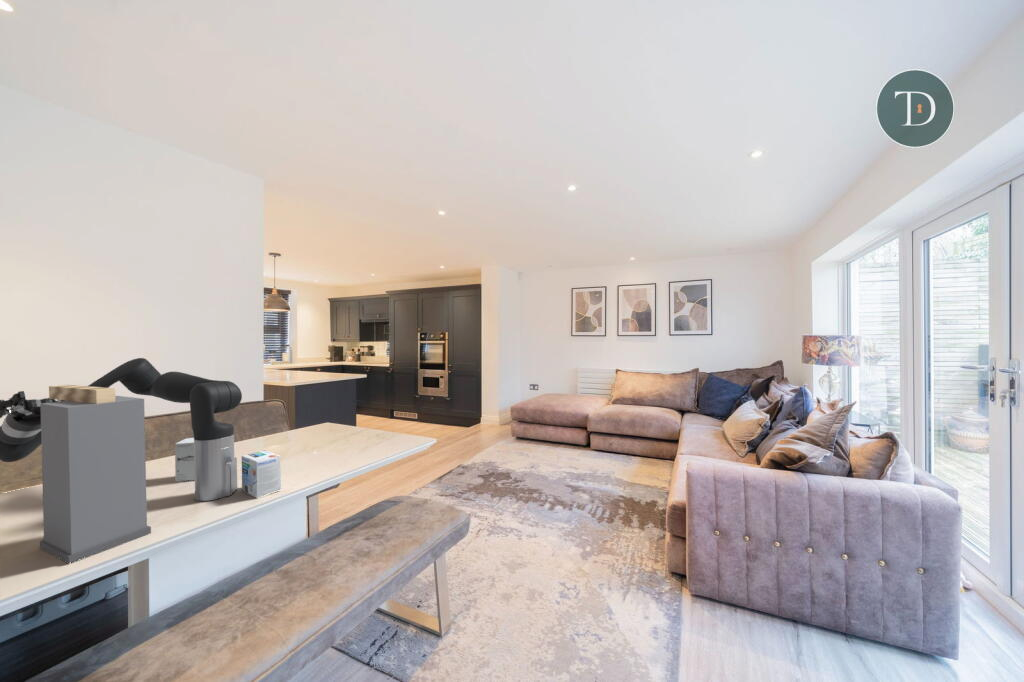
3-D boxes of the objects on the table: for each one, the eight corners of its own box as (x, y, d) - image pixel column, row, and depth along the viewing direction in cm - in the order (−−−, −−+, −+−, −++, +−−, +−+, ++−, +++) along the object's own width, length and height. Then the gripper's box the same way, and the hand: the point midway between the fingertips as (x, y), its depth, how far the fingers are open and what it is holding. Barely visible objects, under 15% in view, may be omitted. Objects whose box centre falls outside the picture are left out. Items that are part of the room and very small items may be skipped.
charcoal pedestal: (39, 548, 82) (35, 403, 82) (120, 521, 94) (117, 395, 94) (69, 564, 76) (65, 408, 76) (150, 533, 88) (147, 398, 88)
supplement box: (174, 482, 119) (173, 443, 119) (187, 474, 126) (187, 437, 126) (201, 480, 121) (201, 441, 121) (213, 472, 128) (212, 435, 128)
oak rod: (49, 398, 89) (48, 386, 89) (67, 396, 92) (67, 384, 92) (96, 403, 81) (96, 390, 81) (115, 401, 84) (115, 388, 84)
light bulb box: (241, 491, 112) (240, 455, 112) (265, 483, 118) (265, 449, 118) (257, 499, 106) (256, 461, 106) (282, 491, 112) (281, 455, 112)
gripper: (-20, 411, 94) (0, 382, 89) (64, 402, 107) (86, 376, 102) (-14, 438, 93) (6, 410, 87) (71, 425, 106) (93, 400, 100)
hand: (49, 392), depth 94 cm, fingers open, 8 cm apart
